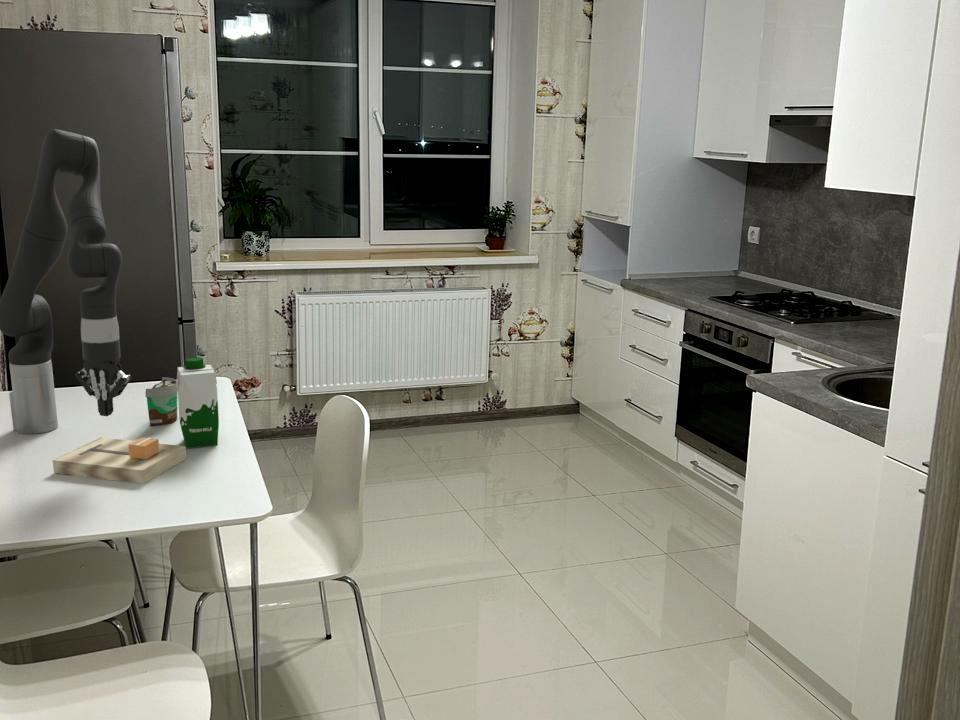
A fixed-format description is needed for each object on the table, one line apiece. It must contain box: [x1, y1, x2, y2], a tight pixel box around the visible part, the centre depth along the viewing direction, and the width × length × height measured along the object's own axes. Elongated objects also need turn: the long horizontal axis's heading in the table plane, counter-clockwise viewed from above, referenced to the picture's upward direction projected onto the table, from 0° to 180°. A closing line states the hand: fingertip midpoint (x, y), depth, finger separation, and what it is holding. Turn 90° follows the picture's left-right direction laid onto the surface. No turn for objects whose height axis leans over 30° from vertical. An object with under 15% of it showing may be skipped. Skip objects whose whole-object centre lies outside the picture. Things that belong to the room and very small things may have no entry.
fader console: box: [52, 437, 187, 485], centre depth 200 cm, size 22×16×3 cm
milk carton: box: [176, 356, 220, 449], centre depth 214 cm, size 9×9×20 cm
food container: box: [144, 376, 178, 427], centre depth 232 cm, size 12×6×10 cm, turn 179°
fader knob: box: [128, 437, 160, 459], centre depth 198 cm, size 4×5×3 cm
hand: (105, 415), depth 198 cm, fingers closed
